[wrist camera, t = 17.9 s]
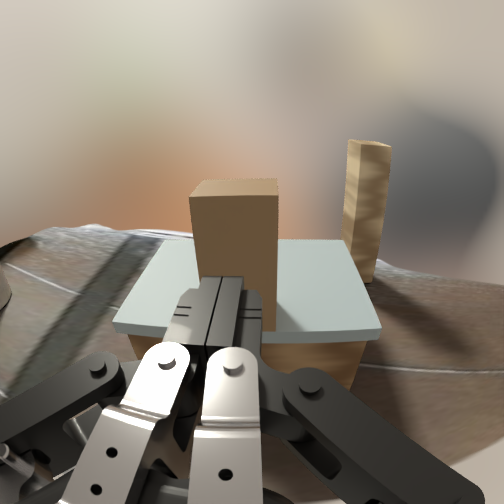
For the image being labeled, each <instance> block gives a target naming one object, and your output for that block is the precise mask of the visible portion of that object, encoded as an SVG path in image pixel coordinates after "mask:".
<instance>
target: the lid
mask: <svg viewBox="0 0 504 504" xmlns="http://www.w3.org/2000/svg"><path fill="white" fill-rule="evenodd" d="M189 204H190V213H191V222H192V230H193V238H194V240H165V241H164V242H163V244H162V245H161V247H160V248H159V250H158V251H157V252H156V254H155V255H154V257H153V258H152V260H151V261H150V263H149V264H148V266H147V267H146V269H145V270H144V272H143V273H142V275H141V276H140V278H139V279H138V281H137V282H136V284H135V285H134V287H133V289H132V290H131V292H130V293H129V295H128V296H127V298H126V300H125V301H124V303H123V304H122V306H121V308H120V309H119V311H118V312H117V314H116V316H115V317H114V319H113V321H112V323H113V325H114V328H115V330H116V333H123V334H131V335H140V336H149V337H159V338H164V336H165V333H166V331H167V328H168V326H169V323H170V321H171V318H172V316H173V313H174V311H175V309H176V308H177V304H178V301H179V299H180V297H181V296H182V295H183V294H184V293H185V292H186V291H187V290H188V289H189V288H195V289H198V288H199V285H200V282H201V279H202V277H203V276H243V277H244V290H257V291H258V292H259V294H260V296H261V297H262V343H331V342H352V341H368V340H378V339H379V336H380V333H381V330H382V327H381V324H380V322H379V319H378V317H377V314H376V312H375V310H374V307H373V305H372V302H371V300H370V298H369V295H368V293H367V291H366V288H365V286H364V284H363V281H362V279H361V277H360V275H359V272H358V270H357V268H356V266H355V264H354V261H353V259H352V257H351V255H350V253H349V251H348V249H347V247H346V244H345V242H344V240H278V186H277V179H220V180H219V179H218V180H203V181H202V182H201V183H200V184H199V185H198V186H197V188H196V189H195V190H194V191H193V193H192V194H191V195H190V196H189Z"/></svg>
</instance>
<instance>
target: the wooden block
mask: <svg viewBox="0 0 504 504" xmlns="http://www.w3.org/2000/svg"><path fill="white" fill-rule="evenodd" d="M391 150H392V147H391V146H388V145H385V144H382V143H379V142H373V141H362V140H348V156H347V173H346V187H345V200H344V211H343V222H342V230H341V240H344V242H345V244H346V247H347V249H348V251H349V253H350V255H351V257H352V259H353V261H354V264H355V266H356V268H357V270H358V272H359V275H360V277H361V279H362V281H363V283H371V282H372V279H373V274H374V270H375V265H376V260H377V255H378V249H379V244H380V238H381V232H382V226H383V220H384V213H385V206H386V199H387V191H388V182H389V173H390V162H391Z"/></svg>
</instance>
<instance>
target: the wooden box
mask: <svg viewBox="0 0 504 504" xmlns="http://www.w3.org/2000/svg"><path fill="white" fill-rule="evenodd" d="M128 337H129V339H130V342H131V344H132V347H133V349H134V351H135V354H136V356H137V358H138V360H142V359H143V358H144V357H145V355H146V353H147V352H148V351H149V350H150V349H151V348H153V347H154V346H156V345H159V344H161V343H162V341H163V338H159V337H149V336H140V335H131V334H128ZM366 343H367V341H352V342H331V343H262V347H261V359H262V360H263V362H264V363H265V364H266V365H267V366H269V367H270V368H272V369H274V370H277V371H280V372H284V373H287V374H290V373H291V372H293V371H295V370H297V369H300V368H306V367H312V368H317V369H320V370H323V371H325V372H326V373H328V374H329V375H330V376H331V377H332V378H334V379H335V380H336V381H337V382H339V383H340V384H341V385H342V386H343V387H345V388H346V389H347V390H348V391H350V388H351V385H352V383H353V380H354V378H355V375H356V372H357V369H358V367H359V364H360V361H361V358H362V355H363V352H364V349H365V346H366Z"/></svg>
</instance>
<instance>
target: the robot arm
mask: <svg viewBox="0 0 504 504" xmlns="http://www.w3.org/2000/svg"><path fill="white" fill-rule="evenodd" d="M10 296H11V288H10V286H9V284H8V282H7V279H6V277H5V274H4V272H3V269H2V267H1V264H0V310H1V309H2V308H3V307H4V306H5V304H6V303H7V302H8V300H9V298H10ZM261 347H262V297H261V296H260V294H259V292H258V291H257V290H244V277H243V276H203V277H202V279H201V282H200V285H199V288H198V289H195V288H189V289H188V290H187V291H186V292H185V293H184V294H183V295H182V296H181V297H180V299H179V301H178V304H177V308H176V309H175V311H174V313H173V316H172V318H171V321H170V323H169V326H168V328H167V331H166V333H165V336H164V338H163V341H162V343H161V344H159V345H156V346H154V347H153V348H151V349H150V350H149V351H148V352H147V353H146V355H145V357H144V358H143V359H142V360H138V361H130V362H122V363H119V361H118V359H117V357H116V356H115V355H114V354H112V353H110V352H106V351H99V352H95V353H92V354H90V355H88V356H87V357H85V358H83V359H81V360H80V361H78V362H76V363H74V364H73V365H71V366H69V367H67V368H66V369H64V370H62V371H60V372H59V373H57V374H55V375H53V376H52V377H50V378H48V379H46V380H45V381H43V382H41V383H39V384H38V385H36V386H34V387H32V388H30V389H29V390H27V391H25V392H23V393H22V394H20V395H18V396H16V397H14V398H13V399H11V400H9V401H7V402H6V403H4V404H2V405H0V504H294V503H293V502H292V501H290V500H289V499H287V498H286V497H284V496H282V495H280V494H278V493H276V492H274V491H271V490H269V489H266V488H263V487H262V462H261V435H260V432H263V433H266V434H269V435H272V436H275V437H279V438H280V440H281V441H282V443H283V444H284V445H285V446H286V447H287V448H288V449H289V450H290V451H291V452H292V453H293V454H294V455H295V456H296V457H297V458H298V459H299V460H300V461H301V462H302V463H303V464H304V465H305V466H306V467H307V468H308V469H309V470H310V471H311V472H312V473H313V474H314V475H315V476H316V477H317V478H318V479H319V480H320V481H322V482H323V483H324V484H325V485H326V486H327V487H328V488H329V489H330V490H331V491H332V492H334V493H335V494H336V495H337V496H338V497H339V498H340V499H341V500H343V501H344V502H345V503H346V504H485V498H484V494H483V492H482V490H481V489H480V488H479V487H478V486H477V485H475V484H474V483H472V482H471V481H469V480H468V479H466V478H465V477H463V476H462V475H460V474H459V473H457V472H456V471H455V470H453V469H452V468H450V467H449V466H447V465H446V464H445V463H443V462H442V461H440V460H439V459H437V458H436V457H435V456H433V455H432V454H431V453H429V452H428V451H426V450H425V449H424V448H422V447H421V446H420V445H418V444H417V443H415V442H414V441H413V440H411V439H410V438H409V437H407V436H406V435H405V434H403V433H402V432H401V431H399V430H398V429H397V428H396V427H394V426H393V425H392V424H390V423H389V422H388V421H386V420H385V419H384V418H383V417H381V416H380V415H379V414H377V413H376V412H375V411H374V410H372V409H371V408H370V407H368V406H367V405H366V404H365V403H363V402H362V401H361V400H360V399H358V398H357V397H356V396H355V395H353V394H352V393H351V392H350V391H348V390H347V389H346V388H345V387H343V386H342V385H341V384H340V383H339V382H337V381H336V380H335V379H334V378H332V377H331V376H330V375H329V374H328V373H326V372H325V371H323V370H320V369H317V368H312V367H306V368H300V369H297V370H295V371H293V372H291V373H290V374H287V373H284V372H280V371H277V370H274V369H272V368H270V367H269V366H267V365H266V364H265V363H264V362H263V360H262V359H261ZM203 396H204V400H203ZM202 401H203V403H202ZM95 403H98V405H97V406H95V407H94V408H92V409H90V410H89V411H87V412H85V413H84V414H82V415H80V416H78V417H77V418H75V419H72V420H69V419H70V418H72V417H73V416H75V415H77V414H78V413H80V412H82V411H84V410H85V409H87V408H89V407H90V406H92V405H94V404H95ZM201 415H202V418H201ZM200 419H201V422H200ZM199 422H200V424H199ZM192 446H193V450H192V460H191V470H190V453H191V449H192ZM75 465H76V467H75V468H74V469H73V470H71V471H69V472H68V473H66V474H64V475H63V476H61V477H60V478H58V479H56V480H54V479H53V477H55V476H57V475H59V474H61V473H63V472H64V471H66V470H68V469H70V468H72V467H73V466H75ZM189 472H190V478H188V477H189Z"/></svg>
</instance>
